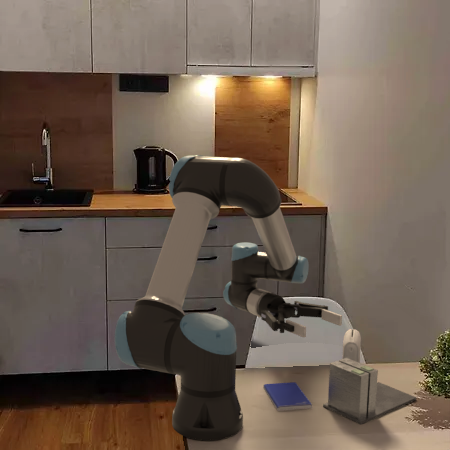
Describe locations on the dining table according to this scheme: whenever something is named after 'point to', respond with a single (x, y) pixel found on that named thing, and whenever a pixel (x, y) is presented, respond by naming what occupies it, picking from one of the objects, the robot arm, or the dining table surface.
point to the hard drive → (287, 396)
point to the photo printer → (352, 345)
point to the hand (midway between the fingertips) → (323, 326)
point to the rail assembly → (361, 392)
